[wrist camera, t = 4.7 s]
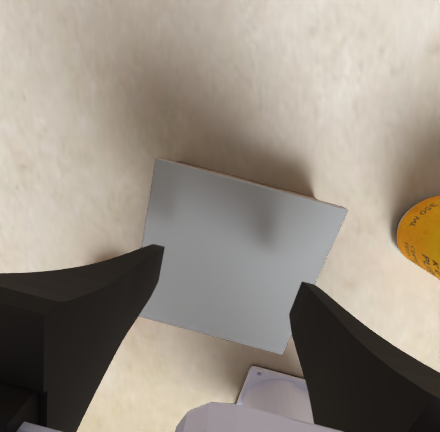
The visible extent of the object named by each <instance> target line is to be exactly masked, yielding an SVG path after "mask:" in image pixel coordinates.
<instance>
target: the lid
mask: <svg viewBox="0 0 440 432" xmlns="http://www.w3.org/2000/svg"><path fill="white" fill-rule="evenodd" d="M347 212H348V210H347V209H345V208H344V207H342V206H338V205H334V204H330V203H327V202H323V201H319V200H315V199H312V198H308V197H304V196H300V195H297V194H293V193H289V192H286V191H282V190H278V189H274V188H271V187H267V186H263V185H259V184H256V183H252V182H248V181H244V180H241V179H237V178H233V177H229V176H226V175H222V174H218V173H214V172H211V171H207V170H203V169H200V168H196V167H192V166H188V165H185V164H181V163H177V162H173V161H170V160H166V159H162V158H156V159H155V165H154V172H153V178H152V185H151V191H150V197H149V204H148V210H147V217H146V223H145V229H144V236H143V242H142V248H143V247H146V246H148V245H151V244H156V245H160V246H164V247H165V249H164V254H163V260H162V265H161V271H160V276H159V281H158V283H157V285H156V288H155V290H154V292H153V294H152V296H151V298H150V299H149V301H148V302H147V304H146V305H145V307H144V308H143V310H142V311H141V313H140V314H139V316H140V317H143V318H147V319H151V320H154V321H158V322H162V323H166V324H169V325H173V326H177V327H180V328H184V329H188V330H192V331H195V332H199V333H203V334H206V335H210V336H214V337H217V338H221V339H225V340H229V341H232V342H236V343H240V344H243V345H247V346H251V347H255V348H258V349H262V350H266V351H269V352H273V353H277V354H281V355H282V354H283V352H284V350H285V348H286V345H287V343H288V341H289V339H290V337H291V335H292V332H291V326H290V318H289V313H290V310H291V308H292V305H293V303H294V300H295V298H296V295H297V292H298V290H299V287H300V285H301V282H306V283H310V284H315V282H316V280H317V278H318V275H319V273H320V271H321V269H322V267H323V265H324V262H325V260H326V258H327V256H328V254H329V251H330V249H331V247H332V245H333V243H334V240H335V238H336V236H337V234H338V232H339V229H340V227H341V225H342V223H343V221H344V219H345V216H346V214H347Z"/></svg>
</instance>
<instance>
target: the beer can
mask: <svg viewBox="0 0 440 432" xmlns="http://www.w3.org/2000/svg"><path fill="white" fill-rule="evenodd" d="M397 244H398V247H399V249H400V251H401V253H402V254H403V255H404V256H405V257H406V258H407V259H409V260H410V261H412V262H413V263H415V264H416V265H418V266H420V267H421V268H423V269H424V270H426V271H427V272H429V273H430V274H432V275H434V276H435V277H437V278H438V279H440V195H439V196H434V197H430V198H428V199H425V200H423V201H421V202H420V203H418V204H416V205H415V206H413V207H412V208H410V209H409V210H408V211H407V212H406V213H405V214H404V215H403V217H402V218H401V220H400V222H399V225H398V228H397Z"/></svg>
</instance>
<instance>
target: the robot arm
mask: <svg viewBox="0 0 440 432" xmlns="http://www.w3.org/2000/svg"><path fill="white" fill-rule="evenodd" d="M164 249H165V247H164V246H160V245H156V244H151V245H148V246H146V247H143V248H140V249H138V250H135V251H133V252H130V253H127V254H125V255H122V256H119V257H116V258H112V259H109V260H106V261H103V262H99V263H95V264H90V265H86V266H81V267H74V268H68V269H62V270H54V271H44V272H31V273H0V432H76V431H77V429H78V427H79V425H80V423H81V421H82V419H83V417H84V415H85V413H86V410H87V408H88V406H89V404H90V402H91V400H92V398H93V396H94V394H95V392H96V390H97V388H98V386H99V384H100V382H101V380H102V378H103V376H104V374H105V373H106V371H107V369H108V367H109V365H110V363H111V361H112V359H113V357H114V355H115V353H116V351H117V350H118V348H119V346H120V344H121V342H122V341H123V339H124V337H125V336H126V334H127V332H128V331H129V329H130V328H131V326H132V325H133V323H134V322H135V320H136V319H137V317H138V316H139V314H140V313H141V311H142V310H143V308H144V307H145V305H146V304H147V302H148V301H149V299H150V298H151V296H152V294H153V292H154V290H155V288H156V285H157V283H158V281H159V276H160V271H161V265H162V260H163V254H164ZM289 318H290V326H291V332H292V336H293V340H294V343H295V347H296V350H297V354H298V357H299V360H300V364H301V367H302V371H303V374H304V377H305V379H301V378H298V377H294V376H290V375H286V374H283V373H279V372H275V371H272V370H268V369H264V368H261V367H257V366H252V367H251V368H250V369H249V372H248V375H247V377H246V380H245V382H244V385H243V387H242V390H241V393H240V395H239V398H238V400H237V403H236V404H233V403H217V402H210V403H208V404H205V405H202V406H200V407H197V408H194V409H192V410H190V411H188V412H187V413H186V415H185V416H184V417H183V419H182V420H181V421H180V423H179V424H178V425H177V427H176V430H175V432H440V373H439V372H437V371H435V370H434V369H432V368H430V367H428V366H426V365H425V364H423V363H421V362H420V361H418V360H416V359H415V358H413V357H411V356H410V355H408V354H406V353H405V352H403V351H401V350H400V349H398V348H397V347H395V346H394V345H392V344H391V343H389V342H388V341H386V340H385V339H383V338H382V337H380V336H379V335H377V334H376V333H375V332H373V331H372V330H370V329H369V328H368V327H366V326H365V325H364V324H363V323H361V322H360V321H359V320H357V319H356V318H355V317H354V316H352V315H351V314H350V313H349V312H347V311H346V310H345V309H344V308H343V307H341V306H340V305H339V304H338V303H337V302H335V301H334V300H333V299H332V298H331V297H330V296H328V295H327V294H326V293H325V292H323V291H322V290H321V289H320V288H318V287H317V286H315V285H314V284H310V283H306V282H301V285H300V287H299V290H298V292H297V295H296V298H295V300H294V303H293V305H292V308H291V310H290V313H289Z"/></svg>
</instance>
